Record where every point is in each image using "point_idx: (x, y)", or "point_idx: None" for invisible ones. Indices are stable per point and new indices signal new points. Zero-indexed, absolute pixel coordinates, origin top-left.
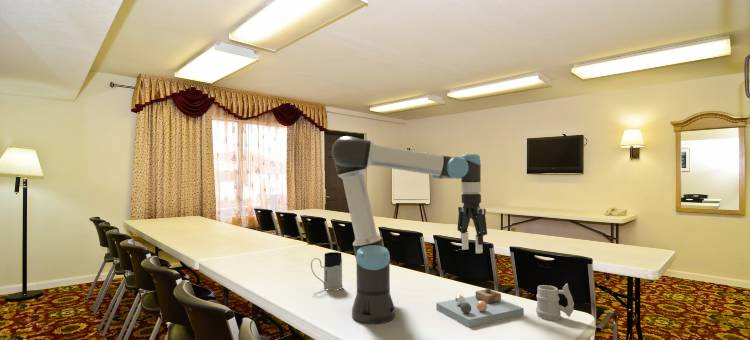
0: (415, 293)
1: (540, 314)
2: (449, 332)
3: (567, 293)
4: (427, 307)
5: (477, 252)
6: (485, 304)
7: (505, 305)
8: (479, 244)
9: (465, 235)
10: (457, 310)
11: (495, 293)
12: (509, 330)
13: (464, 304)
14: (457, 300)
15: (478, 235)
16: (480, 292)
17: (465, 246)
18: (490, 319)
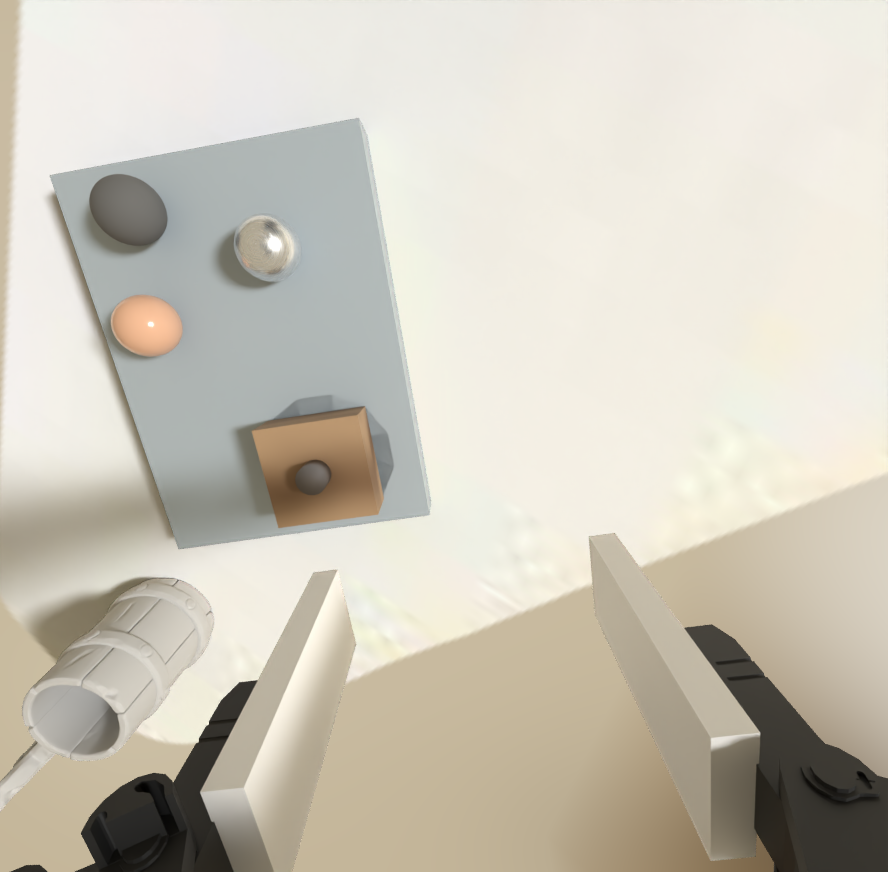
0: (704, 134)
1: (144, 584)
2: (32, 42)
3: (23, 755)
4: (420, 94)
5: (312, 586)
6: (115, 336)
7: (229, 492)
8: (246, 684)
9: (686, 750)
10: (198, 188)
11: (289, 502)
12: (37, 365)
13: (97, 187)
14: (246, 218)
15: (110, 827)
16: (327, 430)
17: (604, 596)
18: None
